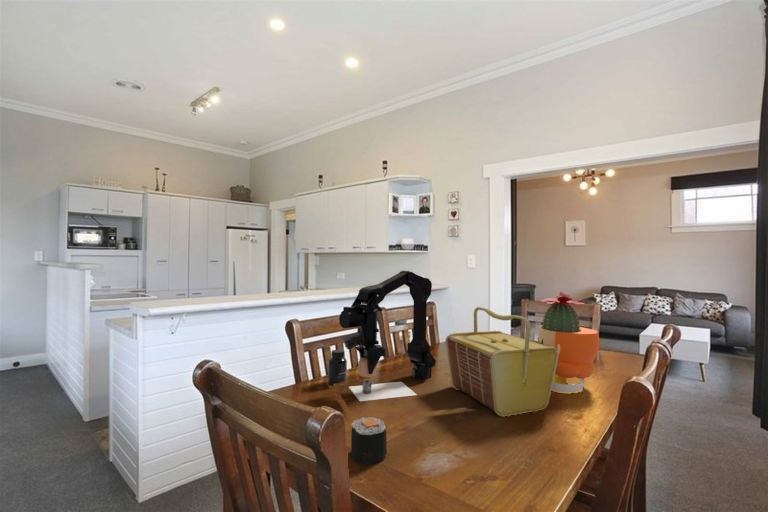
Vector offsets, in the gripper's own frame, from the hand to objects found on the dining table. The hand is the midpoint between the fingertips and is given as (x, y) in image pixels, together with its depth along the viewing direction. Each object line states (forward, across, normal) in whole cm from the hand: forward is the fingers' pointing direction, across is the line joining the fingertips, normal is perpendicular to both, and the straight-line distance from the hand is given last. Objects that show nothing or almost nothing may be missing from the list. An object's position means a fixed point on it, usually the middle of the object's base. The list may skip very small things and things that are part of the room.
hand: (367, 371), depth 130 cm
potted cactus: (+9, +10, +76) cm, 78 cm away
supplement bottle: (+9, -16, -7) cm, 19 cm away
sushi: (+9, +36, -11) cm, 39 cm away
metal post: (+7, 0, 0) cm, 7 cm away
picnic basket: (+9, +15, +41) cm, 45 cm away
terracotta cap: (+1, 0, 0) cm, 1 cm away
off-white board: (+9, 0, +5) cm, 10 cm away
